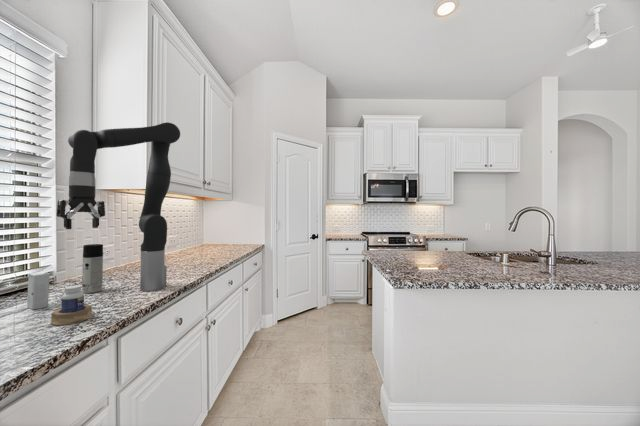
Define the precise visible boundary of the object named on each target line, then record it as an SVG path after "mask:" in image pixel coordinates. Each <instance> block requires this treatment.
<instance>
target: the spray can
mask: <svg viewBox="0 0 640 426" xmlns="http://www.w3.org/2000/svg"><path fill="white" fill-rule="evenodd" d="M82 247H83V250H82V278H81V279H82V282H81V283H82V285H81V292H83V293H84V295H85V294H95V293H100V292H102V290H103V277H104V276H103V272H104V271H103V268H104V264H103V263H104V244H101V243H93V244H84V245H83V246H82Z"/></svg>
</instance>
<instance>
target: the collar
mask: <svg viewBox="0 0 640 426" xmlns="http://www.w3.org/2000/svg"><path fill="white" fill-rule="evenodd" d="M92 306H93V305H90V304H86V303H84V309H83V310H80V311H76V312H72V313H61V308H60V307H59V308H57V309H55V310H53V312H52V313H51V319H50V325H53V326H67V325H66V324H69V325H73V323H74V324H79V323H81V321H82V322H85V321H87V320H89V319H91V318H92V317H93V312H92V310H93V309H92ZM86 319H87V320H86ZM84 320H85V321H84Z"/></svg>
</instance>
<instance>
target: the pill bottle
mask: <svg viewBox="0 0 640 426" xmlns="http://www.w3.org/2000/svg"><path fill="white" fill-rule="evenodd" d="M84 301H85V293H83V292H82V285H79V284H77V285H69V286H65V287H64V294H63V295H62V296H61V313H72V312H76V311H80V310H83V309H84V304H85V302H84Z"/></svg>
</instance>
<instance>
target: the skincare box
mask: <svg viewBox="0 0 640 426" xmlns="http://www.w3.org/2000/svg"><path fill="white" fill-rule="evenodd" d="M50 274H51V273H48V272H47V271H44V270H42V271H35V272H29V273H28V276H27V277H28V279H27V299H26V307H28V309H30V310H38V309H43V308H46V307H49V294H50V277H51V276H50Z"/></svg>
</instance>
